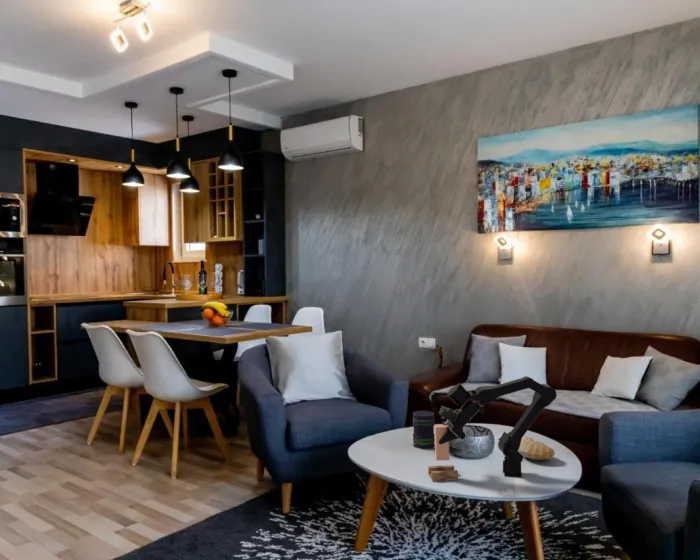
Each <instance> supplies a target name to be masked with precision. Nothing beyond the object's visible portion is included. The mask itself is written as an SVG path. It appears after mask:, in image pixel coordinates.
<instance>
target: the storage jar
mask: <svg viewBox="0 0 700 560" xmlns="http://www.w3.org/2000/svg"><path fill="white" fill-rule="evenodd" d="M412 426H413V433H412V441H413V444H412V445H413V447H414V448H416V449H421V450H430V449H433V448H435V413H434V412H433V411H430V410H416V411H413V412H412Z"/></svg>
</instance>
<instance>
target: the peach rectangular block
mask: <svg viewBox="0 0 700 560" xmlns="http://www.w3.org/2000/svg"><path fill="white" fill-rule="evenodd" d="M446 426H447V427H448V425H443V424H441V425H434V435H435V437H434V438H435V441H434V455H435V457H434V458H435V460H436V461H439V462H440V461H450V441H448V442H446V443H443V444H441V445H440V444H439V443H438V442H439V441H440V439H441V438H442V436H443V435H444V434H445V432H446ZM448 428H449V427H448Z"/></svg>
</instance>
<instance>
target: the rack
mask: <svg viewBox="0 0 700 560" xmlns="http://www.w3.org/2000/svg"><path fill="white" fill-rule="evenodd" d="M427 474H429V475H428V476H429V478H430V480H431V479H432V480H431V481H432V482H447V481H446V480H455V481H459V471H458V470H457V469H455V466H454V465H453V464H449V465H448V464H447V465H445V464H444V465H428V467H427Z"/></svg>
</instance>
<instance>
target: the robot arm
mask: <svg viewBox="0 0 700 560" xmlns="http://www.w3.org/2000/svg"><path fill="white" fill-rule="evenodd" d="M526 389H530V390H532V392H533V391H534V392H533V395H532V396H533V397H532V400H531V403H529V406H527V408H526V410H525V411H524V412H523V414H522V415H521V417H520V418H519V419H518V421H517V423H516V424H515V425H514V427H513V428H512V430H510V431H508V432H506V431H503V433H502V434H501V436H500V437H499V438H498V443H497V447H498V450H500V452H501V453H502V454H503V456H504V457H503V460H502V473H503V475H504V477H514V478H515V477H516V478H517V477H518V478H522V477H523V476H522V462H523V460H524V456H522V455H521V454H520V453H519V452H518V450H519V447H520V444H521V440H522V439H523V437H524V436H525V434H526V433H527V432H528V431H529V429H530V428H531V426H532V425H533V423H534V422H535V420H536V419H537V418H538V416H539V415H540V414H541V411H543V409H545V408H547V407H548V406H550V405H551V404H552V403H553V402H554V401H555V400H556V398H557V395H558V394H557V391H556V389H555V388H553V387H552V386H550V385H548V384H546V383H539V382H538V381H536V380H534V379H533V378H532V377H530V376H528V375H526V376H523V377H521V378H517V379H514V380H510V381H507V382H504V383H500V384H496V385H481V386H478V387H476V388H475V389H471V390H466V388H465V387H464V386H463V385H462V384H461V383H460V382H458V383H457V385H454V386H453V387H451V388H450V389H449V390H448V391H447V394H446V395H447V396H448V398H449V399H451V401H452V402H453V403H454V404H456V406H461V407H460V408H459V409H458V408H456V409H453V408H450V407H446V406H444V405H441V407H440V408H439V411H438V414H439V415H440V416H441V417H440V419H441V420H442V425H448V427H449V428H448V427H447V426H446V432H445V434H444V435H443V436H442V438H441V439H440V441H439V442H438V443H439V444H440V445H441V444H443V443H446V442H448V441H449V442H451V441H453V440H458V439H459V438H460V439H461V440H462V441H463V440H464V439H465V438H466V433H465V432H466V431H464V427H465V426H466V425H467V424H470V423H471V420H472V419H473V417H475V415H477V413H478V412H481V413H482V414H485V413H486V412H485V406H484V405H488V404H491V403H492V402H495V401H496V400H497V399H498V398H499V397H504V396H506V395H508V394H509V395H510V394H513V393H516V392H520V391H522V390H526Z"/></svg>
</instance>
